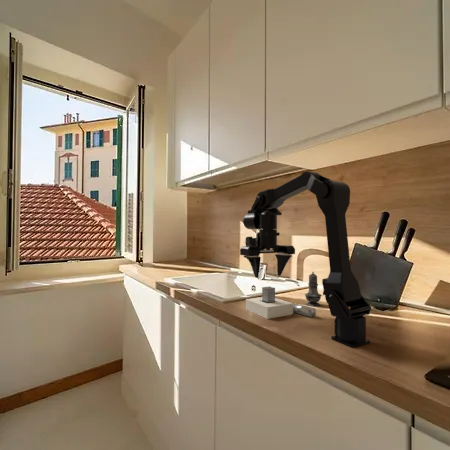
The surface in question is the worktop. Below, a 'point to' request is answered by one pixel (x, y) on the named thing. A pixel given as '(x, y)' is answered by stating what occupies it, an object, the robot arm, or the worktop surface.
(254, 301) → the socket block
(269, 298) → the square bit
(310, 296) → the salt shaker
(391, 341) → the worktop surface
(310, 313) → the round bit
